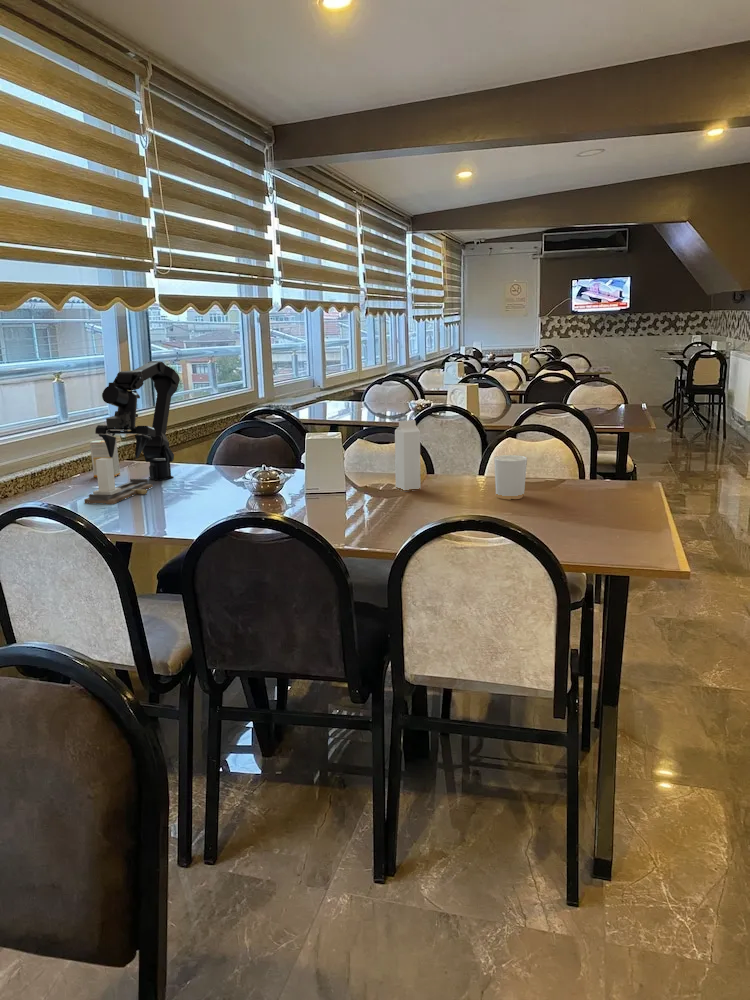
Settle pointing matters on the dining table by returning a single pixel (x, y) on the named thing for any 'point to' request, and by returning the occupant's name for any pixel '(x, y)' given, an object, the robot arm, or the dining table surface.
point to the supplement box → (103, 455)
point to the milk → (407, 455)
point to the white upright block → (105, 477)
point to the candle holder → (510, 475)
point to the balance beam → (121, 492)
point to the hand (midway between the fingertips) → (123, 457)
